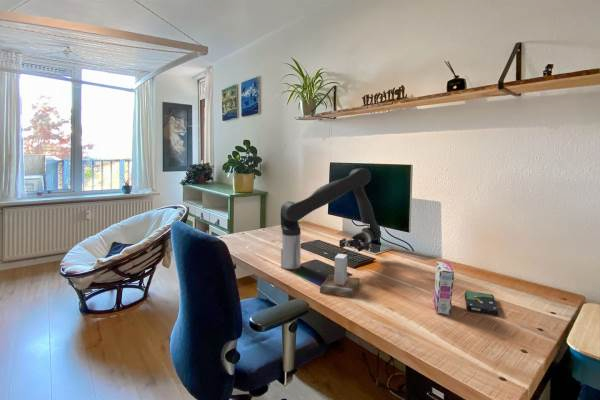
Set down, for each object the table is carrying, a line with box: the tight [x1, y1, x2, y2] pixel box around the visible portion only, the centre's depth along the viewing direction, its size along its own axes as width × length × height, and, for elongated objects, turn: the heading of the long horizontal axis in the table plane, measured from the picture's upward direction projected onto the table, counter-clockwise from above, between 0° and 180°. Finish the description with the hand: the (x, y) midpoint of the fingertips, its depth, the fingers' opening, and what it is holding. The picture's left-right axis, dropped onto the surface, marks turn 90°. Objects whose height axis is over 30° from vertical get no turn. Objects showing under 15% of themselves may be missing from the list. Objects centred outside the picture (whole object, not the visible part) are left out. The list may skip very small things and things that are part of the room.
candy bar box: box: [433, 261, 455, 316], centre depth 121 cm, size 11×5×16 cm, turn 163°
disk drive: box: [464, 290, 500, 317], centre depth 125 cm, size 10×3×15 cm
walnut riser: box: [319, 273, 361, 298], centre depth 141 cm, size 14×16×3 cm
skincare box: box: [333, 253, 348, 285], centre depth 140 cm, size 6×4×12 cm
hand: (349, 247), depth 149 cm, fingers open, 8 cm apart
